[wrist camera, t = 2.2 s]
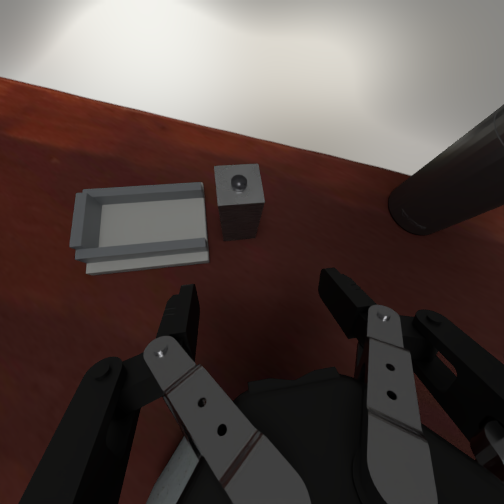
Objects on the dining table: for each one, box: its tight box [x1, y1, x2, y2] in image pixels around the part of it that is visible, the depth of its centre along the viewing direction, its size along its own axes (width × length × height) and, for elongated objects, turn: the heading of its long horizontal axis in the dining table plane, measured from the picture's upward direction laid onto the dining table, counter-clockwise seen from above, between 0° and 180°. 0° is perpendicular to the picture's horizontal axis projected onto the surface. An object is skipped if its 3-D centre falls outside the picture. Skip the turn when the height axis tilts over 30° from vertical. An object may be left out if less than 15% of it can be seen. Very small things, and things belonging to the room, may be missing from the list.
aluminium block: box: [214, 164, 265, 241], centre depth 25 cm, size 5×5×10 cm
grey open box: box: [69, 182, 209, 275], centre depth 27 cm, size 15×12×4 cm
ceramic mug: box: [146, 436, 199, 504], centre depth 18 cm, size 11×8×8 cm
